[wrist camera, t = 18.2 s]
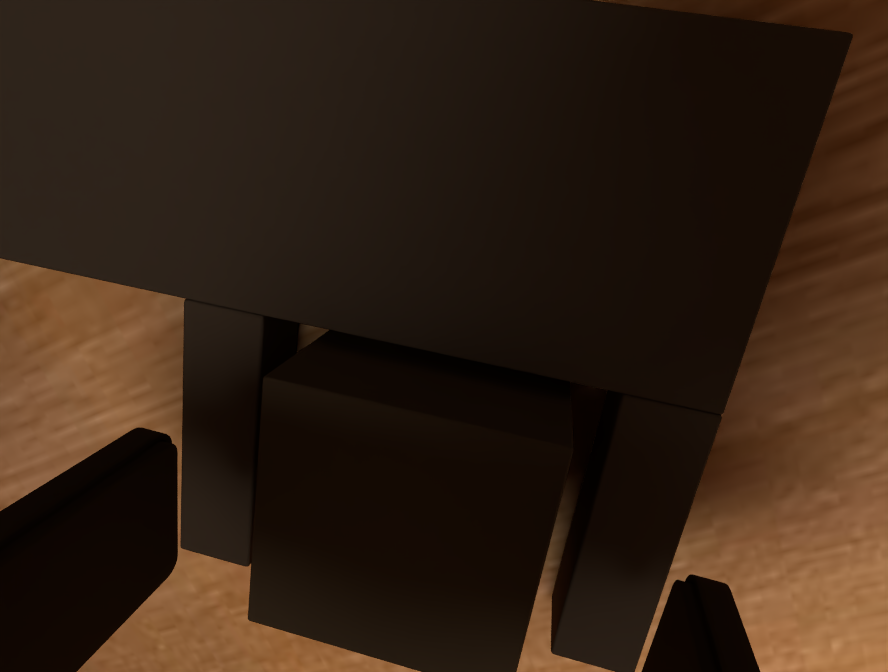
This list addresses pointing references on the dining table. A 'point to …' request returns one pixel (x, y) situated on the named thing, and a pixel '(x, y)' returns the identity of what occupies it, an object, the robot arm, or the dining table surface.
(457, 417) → the pad
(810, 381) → the dining table surface
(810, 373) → the dining table surface
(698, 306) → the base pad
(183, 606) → the dining table surface
